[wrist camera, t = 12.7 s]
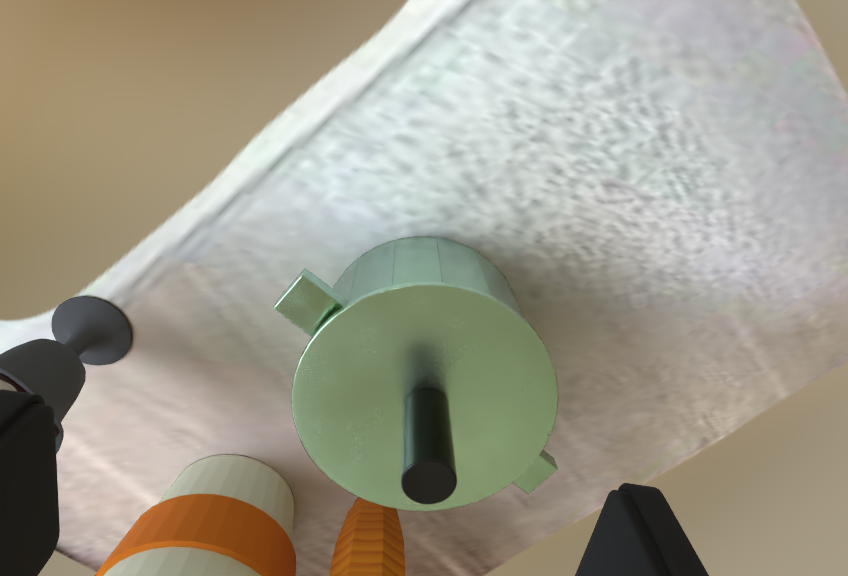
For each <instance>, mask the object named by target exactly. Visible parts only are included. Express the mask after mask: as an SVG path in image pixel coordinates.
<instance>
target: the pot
mask: <svg viewBox="0 0 848 576" xmlns="http://www.w3.org/2000/svg"><path fill="white" fill-rule="evenodd" d="M411 282H442V283H451V284H457V285H461V286H465V287H469V288H473V289H475V290H478V291H480V292H483V293H486V294H488V295H490V296H492V297H494V298H496V299H498V300H500V301H501V302H503V303H505V304H506V305H508V306H509V307H510V308H512V309H513V310H515V311H516V312H517V313H519V314H520V315H521V316H522V317H523V318H524V316H523V314H522V312H521V309H520V307H519V305H518V303H517V301H516V298H515V296H514V294H513V292H512V290H511V288H510V286H509V283H508V281H507V279H506V277H505V276H504V274H503V273H501V272H500V271H499V269H498V268H497V267H496V266H495V265H494V264H493V263H492V262H491V261H490V260H488V259H487V258H486V257H484V256H483V255H482V254H480V253H479V252H477V251H475V250H474V249H472V248H470V247H468V246H466V245H463V244H461V243H458V242H456V241H452V240H448V239H444V238H438V237H430V236H417V237H408V238H401V239H397V240H394V241H390V242H387V243H385V244H382V245H380V246H377V247H375V248H374V249H372V250H370V251H368V252H366V253H365V254H364V255H362V256H361V257H359V258H358V259H357V260H356V261H354V262H353V263H352V264H351V265H350V266H349V267H348V268H347V269H346V271H345V272H344V273H343V274H342V276H341V277H340V278H339V280H338V281H337V283H336V284H335V285H334V286H333V288H331V287H329V286H328V285H327V284H326V283H324V282H323V281H322V280H320V279H319V278H318V277H316V276H315V275H314V274H312V273H311V272H310V271H309V270H307V269H306V268H305V269H304V270H303V271H302V272H301V273H300V274H299V275H298V277H297V278H296V279H295V280H294V281H293V282H292V283H291V285H290V286H289V287H288V288H287V289H286V290H285V292H284V293H283V294H282V295H281V296H280V297H279V299H278V300H277V301H276V303H275V305H274V307H273V309H274V310H276V311H277V312H278V313H280V314H281V315H282V316H284V317H285V318H287V319H288V320H289V321H291V322H292V323H293V324H295V325H296V326H298V327H299V328H300V329H302V330H303V331H304V332H306V333H307V334H309V335H310V336H311V337H313V335H314V334H315V333H316V331H317V330H318V329H319V328H320V326H321V325H322V324H323V323H324V322H326V321H327V320H328V319H329V318H330V317H331V316H332V315H333V314H334V313H336V312H337V311H338V310H340V309H341V308H342V307H344V306H345V305H346V304H348V303H350V302H352V301H354V300H355V299H357V298H359V297H361V296H363V295H365V294H368V293H370V292H373V291H376V290H378V289H381V288H385V287H389V286H393V285H397V284H403V283H411ZM557 469H558V468H557V465H556V462H555V460H554V458H553V457H552V456H551V455H549V454H548V453H547V452H546V451H544V450H543V449H542V451H541V453H540V454H539V456H538V457H537V458H536V459H535V461H534V462H533V463H532V464H531V466H530V467H529V468H528V469H527V470H526V471H525V472H524V473H523V474H522V475H521V476H520V477H518V478H517V479H516V480H514V481H513V482H512V483H514V484H515V485H516V486H518V487H519V488H520V489H522V490H523V491H525V492H526V493H527V494H529V493H530V492H531V491H532V490H534V489H535V488H536V487H537V486H538V485H540V484H541V483H542V482H543V481H544V480H545V479H547V478H548V477H549V476H550V475H551V474H553V473H554V472H555V471H556V470H557Z"/></svg>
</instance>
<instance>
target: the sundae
mask: <svg viewBox="0 0 848 576" xmlns="http://www.w3.org/2000/svg"><path fill="white" fill-rule="evenodd" d="M52 332H53V334H54V337H55V339H56V341H54V340H49V339H37V340H32V341H29V342H27V343H24V344H21V345H19V346H16V347H14V348H12V349H10V350H8V351H6V352H4V353H2V354H0V390H1V389H5V390H11V391H18V392H25V393H31V394H38V395H40V396H42V398H43V399H44V402H45V405H48V406H51V407H52V408H53V410H54V420H55V442H56V454H57V452H58V451H59V449H60V446H61V443H62V440H63V432H64V431H63V428H62V425H61V421H62V420H63V418H64V417H65V415H66V414H67V412H68V411H69V409H70V408H71V406H72V405H73V403H74V402H75V400H76V399H77V397H78V395H79V393H80V391H81V389H82V387H83V385H84V382H85V373H86V372H85V368H84V366H83V364H82V363H86V364H91V365H106V364H111V363H114V362H116V361H118V360H119V359H121V358H122V357H124V355H125V354H126V353H127V351H128V350H129V348H130V345H131V331H130V327H129V325H128V323H127V320H126V319H125V318H124V316H123V315H122V314H121V313H120V312H119V311H118V310H117V309H116V308H115V307H113V306H112V305H110V304H109V303H107V302H105V301H103V300H101V299H97V298H93V297H87V296H82V297H75V298H70V299H68V300H66V301H65V302H63V303H62V304H60V305H59V306H58V308H57V309H56V311H55V313H54V315H53V317H52Z"/></svg>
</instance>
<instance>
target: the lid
mask: <svg viewBox="0 0 848 576" xmlns="http://www.w3.org/2000/svg"><path fill="white" fill-rule="evenodd" d="M291 402H292V412H293V419H294V423H295V426H296V430H297V433H298V435H299V438H300V440H301V442H302V445H303V446H304V448H305V450H306V451H307V453H308V455H309V456H310V458H311V459H312V460H313V461H314V463H315V464H316V465H317V466H318V468H319V469H320V470H321V471H322V472H323V473H324V474H325V475H327V476H328V477H329V478H330V479H331V480H332V481H334V482H335V483H336V484H338V485H339V486H340V487H342V488H343V489H345V490H347V491H348V492H350V493H352V494H354V495H355V496H358V497H360V498H362V499H364V500H367V501H369V502H372V503H375V504H378V505H382V506H385V507H390V508H395V509H400V510H411V511H436V510H445V509H451V508H456V507H460V506H465V505H468V504H471V503H474V502H477V501H480V500H482V499H484V498H486V497H488V496H491V495H493V494H495V493H496V492H498V491H500V490H501V489H503V488H505V487H506V486H508V485H509V484H510V483H512V482H513V481H514V480H516V479H517V478H518V477H520V476H521V475H522V474H523V473H524V472H525V471H526V470H527V469H528V468H529V467H530V466H531V464H532V463H533V462H534V461H535V459H536V458H537V457H538V456H539V454H540V453H541V451H542V449H543V448H544V446H545V445H546V443H547V441H548V439H549V436H550V434H551V432H552V429H553V426H554V422H555V419H556V415H557V408H558V383H557V378H556V373H555V369H554V366H553V363H552V360H551V358H550V355H549V353H548V351H547V349H546V347H545V345H544V344H543V342H542V340H541V338H540V337H539V335H538V334H537V333H536V332H535V330H534V329H533V328H532V326H531V325H530V324H529V323H528V322H527V321H526V320H525V319H524V318H523V317H522V316H521V315H520V314H519V313H517V312H516V311H515V310H513V309H512V308H510V307H509V306H508V305H506V304H505V303H503V302H501V301H500V300H498V299H496V298H494V297H492V296H490V295H488V294H486V293H483V292H480V291H478V290H475V289H473V288H469V287H465V286H461V285H457V284H451V283H442V282H411V283H403V284H397V285H393V286H389V287H385V288H381V289H378V290H376V291H373V292H370V293H368V294H365V295H363V296H361V297H359V298H357V299H355V300H354V301H352V302H350V303H348V304H346V305H345V306H344V307H342V308H341V309H340V310H338V311H337V312H336V313H334V314H333V315H332V316H331V317H330V318H329V319H328V320H327V321H326V322H324V323H323V324H322V325H321V326H320V328H319V329H318V330H317V331H316V333H315V334H314V335H313V337H312V338H311V339H310V341H309V343H308V344H307V346H306V348H305V350H304V351H303V353H302V356H301V358H300V361H299V364H298V366H297V369H296V372H295V376H294V381H293V386H292V400H291Z"/></svg>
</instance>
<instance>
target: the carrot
mask: <svg viewBox="0 0 848 576" xmlns="http://www.w3.org/2000/svg"><path fill="white" fill-rule="evenodd" d="M329 576H405V555H404V541H403V536H402V531H401V526H400V522H399V518H398V514H397V510H396V509H395V508H390V507H385V506H382V505H378V504H375V503H372V502H369V501H367V500H364V499H362V498H360V497H359V498H358V499H357V500H356V501H355V503H354V504H353V506H352V507H351V509H350V510H349V512H348V514H347V516H346V519H345V521H344V523H343V526H342V528H341V531H340V534H339V536H338V539H337V542H336V545H335V549H334V554H333V559H332V563H331V568H330V573H329Z"/></svg>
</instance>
